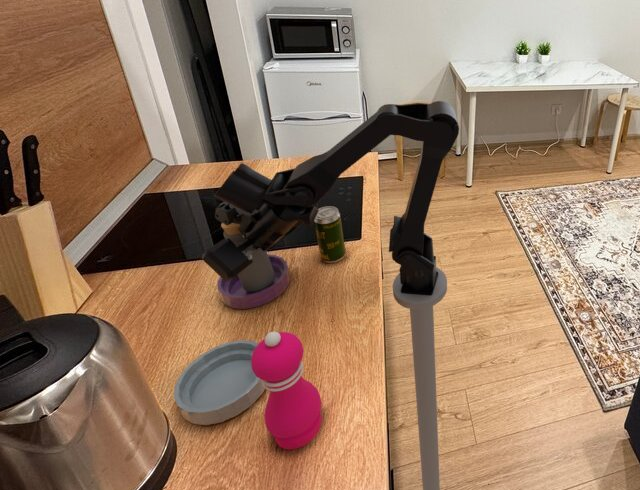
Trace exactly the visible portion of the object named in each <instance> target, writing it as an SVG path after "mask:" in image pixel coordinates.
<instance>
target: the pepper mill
mask: <svg viewBox="0 0 640 490" xmlns="http://www.w3.org/2000/svg"><path fill="white" fill-rule="evenodd" d="M304 352H305V351H304V345H303V342H302V341H301V340H300V338H299V336H297V335H296V334H294V333H292V332H288V331H279V332H278V331H271V332H268V333H267V334H266V336H265V337H264V338H263V339H262V340H261V341H259V342H258V345H257V346H256V348H255V349H254V351H253V354H252V358H251V367H252V370H253V372H254V374H255V375H256V377H258V378H260V379H261V381H262V385H263V387H264V388H265V390H267V391H268V392H269V396H268V399H267V401H266V404H265V408H264V415H263V417H264V424H265V428H266V430H267V431H268V432H269V434H271V436H273V438H274V440H275V442H276V444H277V446H279V447H280V448H281V449H284V450H287V451H288V450H297V449H299V448H302V447H304V446H305V445H307V444H308V443H309V442H311V441H312V440H313V439H314V438H315V436H316V435H317V434H318V433H319V431H320V428H321V427H322V412H321V408H322V397H321V394H320V392H319V390H318V389H317V387H316V386H315V385H314V384H313V383H312V382H311V381H308V380H307V379H305V378H304V377H303V376H302V374H303V372H304V363H303V358H304Z"/></svg>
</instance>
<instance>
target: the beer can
mask: <svg viewBox="0 0 640 490" xmlns="http://www.w3.org/2000/svg"><path fill="white" fill-rule="evenodd" d="M317 209H318V211H319V212H318V214H317V216H316V218H315V220H314V222H313V225H314V226H313V227H314V231H315V235H316V236H315V237H316V241H317V246H318V251H319V256H320V259H321V260H322V261H323V262H324V263H326V264H335V263H338V262H340V261H342V260H343V259H344V258H345V255H346V253H347V249H346V243H345V237H344V232H343V225H342V218H341V213H340V211H339V208H337V207H336V206H332V205H329V206H327V205H326V206H322V207H320V208H317Z"/></svg>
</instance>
